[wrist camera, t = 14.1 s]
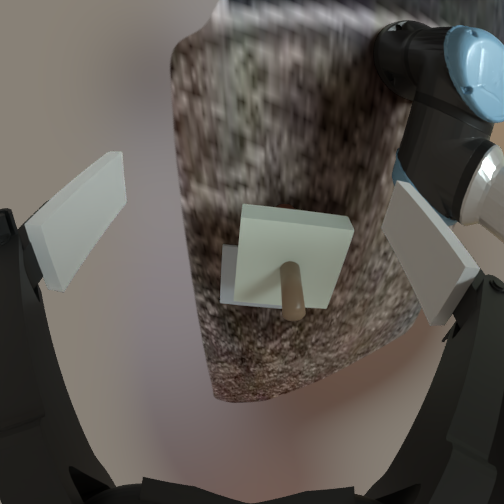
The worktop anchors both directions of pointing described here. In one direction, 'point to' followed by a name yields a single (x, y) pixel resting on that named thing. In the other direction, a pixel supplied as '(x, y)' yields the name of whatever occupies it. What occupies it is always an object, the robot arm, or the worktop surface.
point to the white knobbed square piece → (290, 257)
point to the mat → (232, 278)
